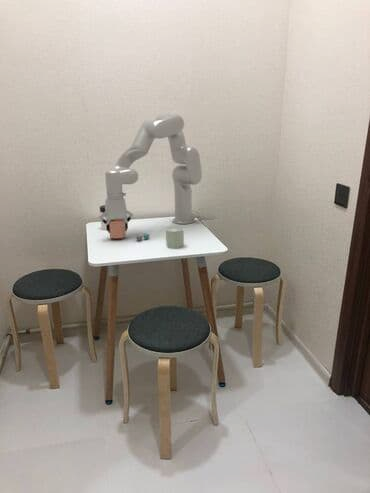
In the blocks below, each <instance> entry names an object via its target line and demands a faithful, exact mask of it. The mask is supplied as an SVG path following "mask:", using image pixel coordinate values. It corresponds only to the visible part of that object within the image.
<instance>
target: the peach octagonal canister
mask: <svg viewBox="0 0 370 493" xmlns="http://www.w3.org/2000/svg"><path fill="white" fill-rule="evenodd" d="M109 226H110V233H109V237H110V238H111V239H123V238H126V236H127V231H126V229H125V221H124V219H118V220H110V222H109Z"/></svg>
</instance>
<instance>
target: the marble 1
mask: <svg viewBox="0 0 370 493" xmlns="http://www.w3.org/2000/svg"><path fill="white" fill-rule="evenodd" d="M135 239H136V241H139V242H141V241H142V240H143V235H141V234H137V235H136V237H135Z"/></svg>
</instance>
